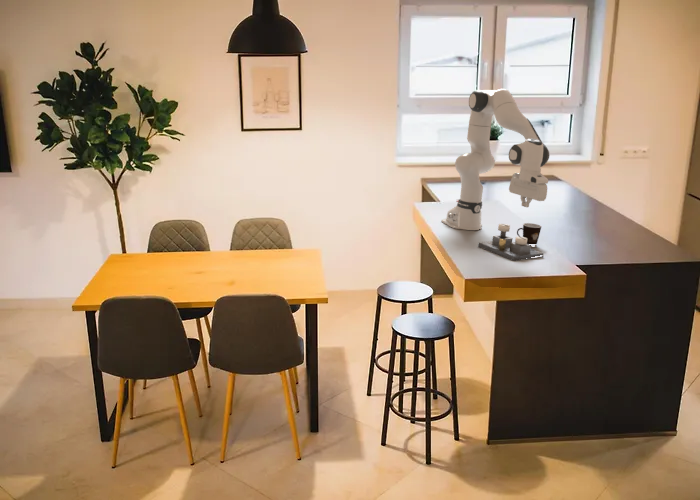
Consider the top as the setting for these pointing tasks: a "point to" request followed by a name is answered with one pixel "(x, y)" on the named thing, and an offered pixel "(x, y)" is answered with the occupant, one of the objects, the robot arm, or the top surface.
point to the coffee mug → (530, 232)
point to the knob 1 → (503, 229)
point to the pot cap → (502, 243)
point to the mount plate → (510, 249)
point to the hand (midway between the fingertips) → (525, 206)
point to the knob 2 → (521, 240)
